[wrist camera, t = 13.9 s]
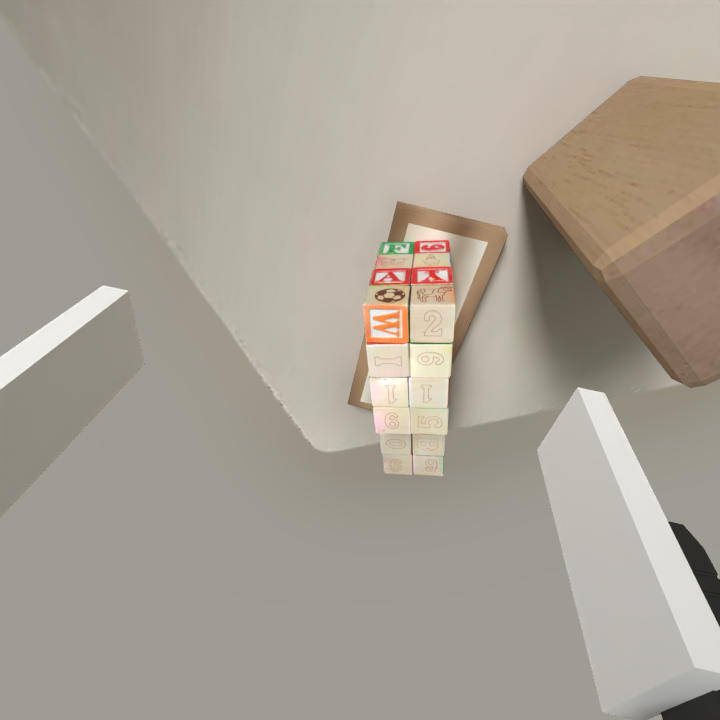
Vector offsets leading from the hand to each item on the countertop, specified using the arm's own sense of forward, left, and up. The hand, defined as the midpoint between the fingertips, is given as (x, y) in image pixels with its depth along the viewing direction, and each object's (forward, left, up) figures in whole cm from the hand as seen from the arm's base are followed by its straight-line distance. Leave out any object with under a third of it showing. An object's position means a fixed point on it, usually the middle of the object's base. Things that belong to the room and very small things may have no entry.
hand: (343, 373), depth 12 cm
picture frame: (-6, +15, -29) cm, 33 cm away
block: (-17, -3, -29) cm, 34 cm away
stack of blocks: (-6, +15, -27) cm, 32 cm away
